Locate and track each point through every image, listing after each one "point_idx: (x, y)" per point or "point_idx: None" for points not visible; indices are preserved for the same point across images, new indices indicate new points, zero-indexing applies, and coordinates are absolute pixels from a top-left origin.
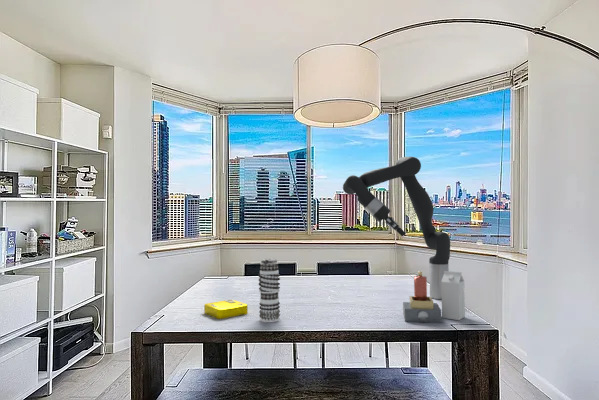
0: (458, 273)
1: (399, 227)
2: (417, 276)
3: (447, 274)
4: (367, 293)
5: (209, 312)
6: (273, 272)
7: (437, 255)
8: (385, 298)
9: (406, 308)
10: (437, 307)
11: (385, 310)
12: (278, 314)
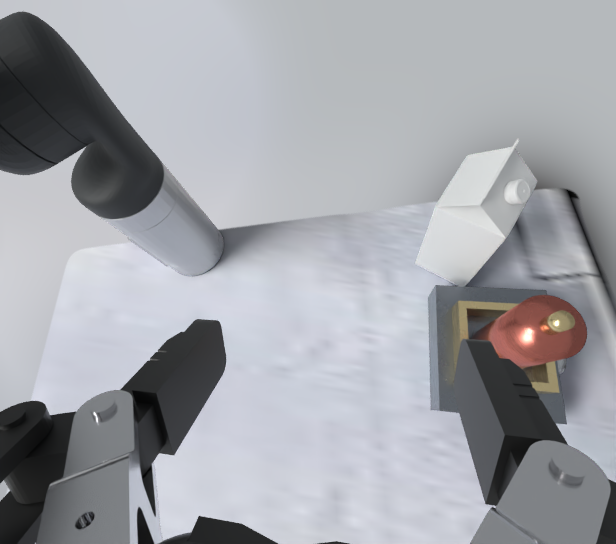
0: (512, 152)
1: (561, 453)
2: (537, 338)
3: (490, 195)
4: None
5: None
6: None
7: (139, 165)
8: (190, 441)
9: (556, 415)
10: (505, 294)
11: (387, 474)
12: None
